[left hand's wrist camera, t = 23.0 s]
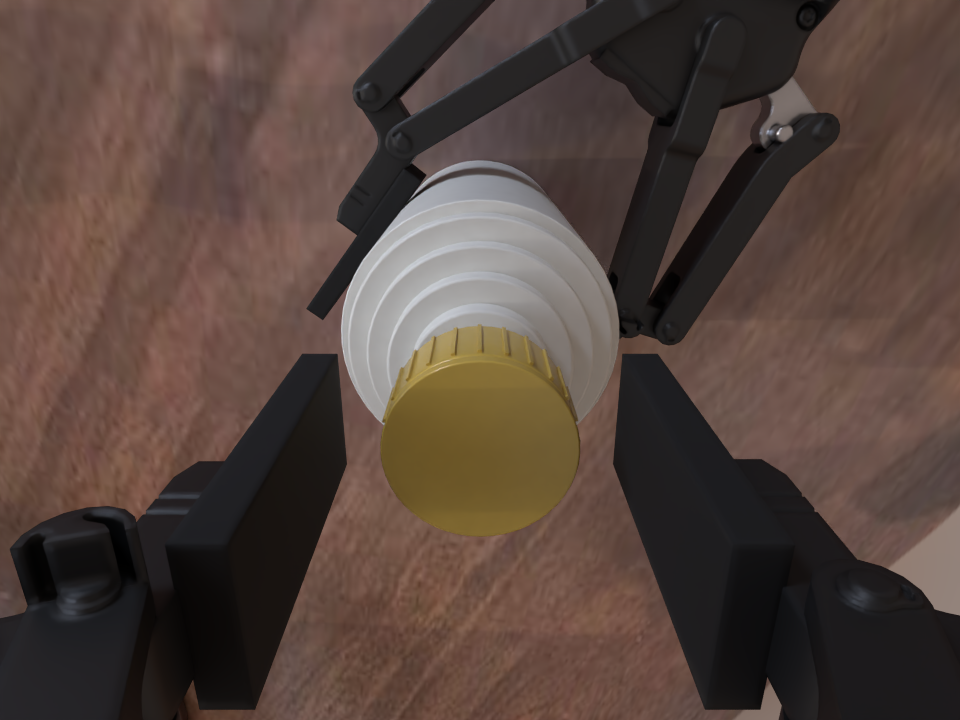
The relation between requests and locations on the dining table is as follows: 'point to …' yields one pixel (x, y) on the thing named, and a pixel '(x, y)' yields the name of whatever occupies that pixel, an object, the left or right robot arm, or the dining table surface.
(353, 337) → the bottle
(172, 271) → the dining table surface
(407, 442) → the cap
